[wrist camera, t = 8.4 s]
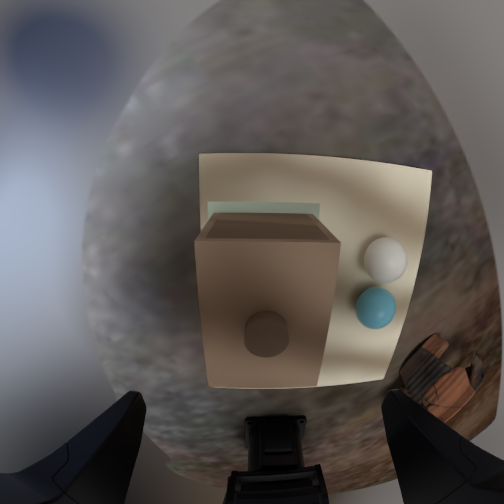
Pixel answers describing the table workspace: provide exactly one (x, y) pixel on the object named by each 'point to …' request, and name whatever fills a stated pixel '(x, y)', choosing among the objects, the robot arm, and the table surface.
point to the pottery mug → (440, 379)
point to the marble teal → (375, 308)
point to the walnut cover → (265, 298)
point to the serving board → (341, 226)
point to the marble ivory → (385, 260)
